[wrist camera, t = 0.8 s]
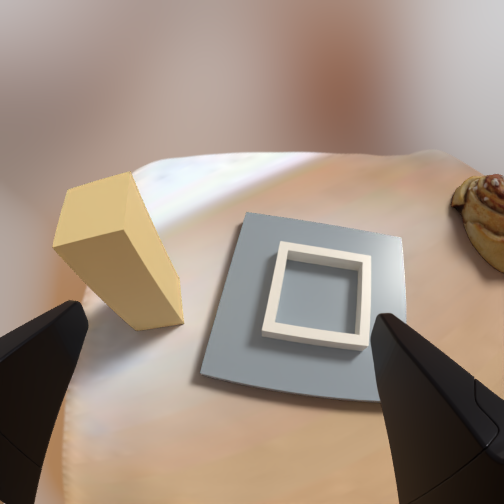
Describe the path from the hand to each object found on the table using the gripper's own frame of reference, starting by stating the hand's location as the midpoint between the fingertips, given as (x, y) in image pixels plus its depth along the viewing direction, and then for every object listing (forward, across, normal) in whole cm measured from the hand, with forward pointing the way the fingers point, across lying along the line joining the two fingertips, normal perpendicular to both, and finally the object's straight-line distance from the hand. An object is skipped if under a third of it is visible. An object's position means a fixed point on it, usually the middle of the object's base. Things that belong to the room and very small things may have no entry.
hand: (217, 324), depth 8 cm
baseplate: (+14, -6, +10) cm, 18 cm away
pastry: (+23, -32, +6) cm, 39 cm away
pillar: (+14, +8, +10) cm, 19 cm away
